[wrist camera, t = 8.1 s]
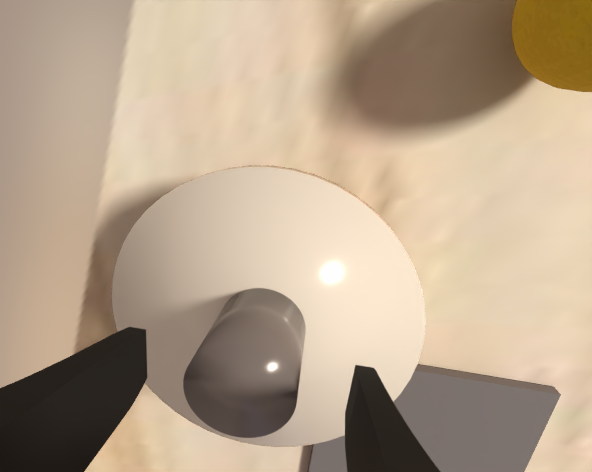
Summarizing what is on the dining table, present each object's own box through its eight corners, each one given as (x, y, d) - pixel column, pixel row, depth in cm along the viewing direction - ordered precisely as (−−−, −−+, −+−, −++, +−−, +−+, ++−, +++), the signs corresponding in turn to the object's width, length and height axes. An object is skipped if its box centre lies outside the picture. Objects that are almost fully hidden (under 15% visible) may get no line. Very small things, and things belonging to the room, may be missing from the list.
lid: (394, 448, 16) (415, 562, 12) (136, 413, 17) (73, 505, 13) (450, 179, 12) (514, 206, 8) (106, 153, 13) (0, 165, 9)
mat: (486, 534, 23) (489, 544, 23) (303, 498, 24) (302, 507, 24) (553, 386, 19) (560, 394, 19) (330, 349, 20) (330, 356, 19)
